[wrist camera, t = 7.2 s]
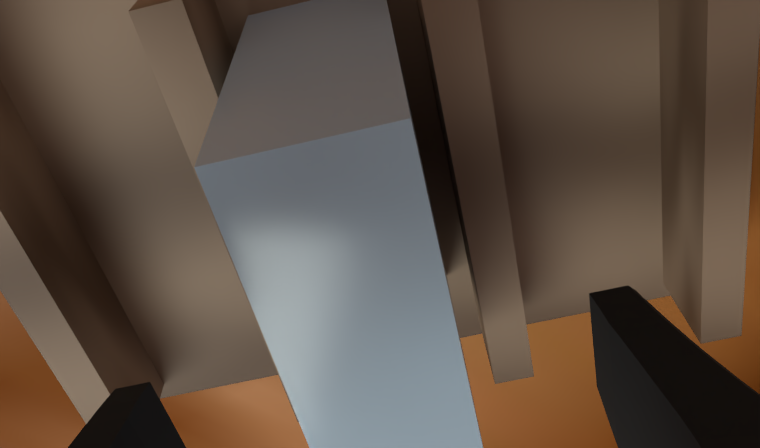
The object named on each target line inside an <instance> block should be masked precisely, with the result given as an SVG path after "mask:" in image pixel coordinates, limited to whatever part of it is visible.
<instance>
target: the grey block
mask: <svg viewBox="0 0 760 448" xmlns="http://www.w3.org/2000/svg"><path fill="white" fill-rule="evenodd" d="M194 168H195V171H196V173H197V176H198V178H199V181H200V183H201V185H202V188H203V190H204V193H205V195H206V198H207V200H208V202H209V205H210V207H211V210H212V212H213V215H214V217H215V219H216V222H217V224H218V227H219V229H220V232H221V234H222V236H223V239H224V241H225V244H226V246H227V249H228V251H229V253H230V256H231V258H232V261H233V263H234V266H235V268H236V270H237V273H238V275H239V278H240V280H241V283H242V285H243V287H244V290H245V292H246V295H247V297H248V300H249V302H250V304H251V307H252V309H253V312H254V314H255V316H256V319H257V321H258V324H259V326H260V329H261V331H262V333H263V336H264V338H265V341H266V343H267V346H268V348H269V350H270V353H271V355H272V358H273V360H274V363H275V365H276V367H277V370H278V372H279V375H280V377H281V380H282V382H283V384H284V387H285V389H286V392H287V394H288V397H289V399H290V401H291V404H292V406H293V409H294V411H295V414H296V416H297V418H298V421H299V423H300V426H301V428H302V431H303V433H304V435H305V438H306V440H307V443H308V445H309V448H483V444H482V439H481V434H480V430H479V425H478V420H477V416H476V411H475V406H474V401H473V397H472V392H471V387H470V383H469V378H468V373H467V368H466V364H465V359H464V354H463V350H462V345H461V340H460V335H459V331H458V326H457V321H456V317H455V312H454V307H453V303H452V298H451V293H450V288H449V284H448V279H447V274H446V270H445V265H444V261H443V256H442V251H441V247H440V242H439V238H438V233H437V228H436V224H435V219H434V215H433V210H432V205H431V201H430V196H429V192H428V187H427V182H426V178H425V173H424V169H423V164H422V159H421V155H420V150H419V146H418V141H417V137H416V132H415V127H414V123H413V118H412V114H411V109H410V104H409V100H408V95H407V91H406V86H405V81H404V77H403V72H402V68H401V63H400V58H399V54H398V49H397V45H396V40H395V35H394V31H393V26H392V22H391V17H390V12H389V8H388V3H387V0H310V1H306V2H302V3H298V4H294V5H290V6H286V7H281V8H277V9H273V10H269V11H265V12H261V13H257V14H253V15H248V17H247V20H246V22H245V25H244V28H243V31H242V34H241V36H240V39H239V42H238V45H237V48H236V51H235V53H234V56H233V59H232V62H231V65H230V67H229V70H228V73H227V76H226V79H225V82H224V84H223V87H222V90H221V93H220V96H219V98H218V101H217V104H216V107H215V110H214V113H213V115H212V118H211V121H210V124H209V127H208V129H207V132H206V135H205V138H204V141H203V144H202V146H201V149H200V152H199V155H198V158H197V160H196V163H195V166H194Z"/></svg>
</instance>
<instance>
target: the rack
mask: <svg viewBox="0 0 760 448" xmlns="http://www.w3.org/2000/svg"><path fill="white" fill-rule="evenodd" d="M306 1H310V0H0V291H1V292H2V294H3V295H4V297H5V298H6V300H7V301H8V303H9V305H10V306H11V308H12V309H13V311H14V312H15V314H16V315H17V317H18V319H19V320H20V322H21V323H22V325H23V326H24V328H25V329H26V331H27V333H28V334H29V336H30V337H31V339H32V340H33V342H34V343H35V345H36V347H37V348H38V350H39V351H40V353H41V354H42V356H43V357H44V359H45V361H46V362H47V364H48V365H49V367H50V368H51V370H52V371H53V373H54V375H55V376H56V378H57V379H58V381H59V382H60V384H61V385H62V387H63V389H64V390H65V392H66V393H67V395H68V396H69V398H70V399H71V401H72V403H73V404H74V406H75V407H76V409H77V410H78V412H79V413H80V415H81V417H82V418H83V420H84V421H85V423H86V424H87V423H88V421H89V420H90V419H91V418H92V416H93V415H94V414H95V412H96V411H97V410H98V409H99V407H100V406H101V405H102V404H103V403H104V401H105V400H106V399H107V398H108V397H109V395H110V394H111V393H112V392H113V391H114V390H115V389H117V388H122V387H127V386H132V385H137V384H142V383H147V382H150V383H151V384H152V386H153V388H154V390H155V392H156V394H157V395H158V397H159V399H160V398H165V397H170V396H175V395H179V394H184V393H189V392H194V391H199V390H204V389H209V388H214V387H219V386H224V385H229V384H234V383H239V382H244V381H249V380H254V379H259V378H264V377H269V376H274V375H279V372H278V370H277V367H276V365H275V363H274V360H273V358H272V355H271V353H270V350H269V348H268V346H267V343H266V341H265V338H264V336H263V333H262V331H261V329H260V326H259V324H258V321H257V319H256V316H255V314H254V312H253V309H252V307H251V304H250V302H249V300H248V297H247V295H246V292H245V290H244V287H243V285H242V283H241V280H240V278H239V275H238V273H237V270H236V268H235V266H234V263H233V261H232V258H231V256H230V253H229V251H228V249H227V246H226V244H225V241H224V239H223V236H222V234H221V232H220V229H219V227H218V224H217V222H216V219H215V217H214V215H213V212H212V210H211V207H210V205H209V202H208V200H207V198H206V195H205V193H204V190H203V188H202V185H201V183H200V181H199V178H198V176H197V173H196V171H195V168H194V166H195V163H196V160H197V158H198V155H199V152H200V149H201V146H202V144H203V141H204V138H205V135H206V132H207V129H208V127H209V124H210V121H211V118H212V115H213V113H214V110H215V107H216V104H217V101H218V98H219V96H220V93H221V90H222V87H223V84H224V82H225V79H226V76H227V73H228V70H229V67H230V65H231V62H232V59H233V56H234V53H235V51H236V48H237V45H238V42H239V39H240V36H241V34H242V31H243V28H244V25H245V22H246V20H247V17H248V15H253V14H257V13H261V12H265V11H269V10H273V9H277V8H281V7H286V6H290V5H294V4H298V3H302V2H306ZM387 3H388V8H389V12H390V17H391V22H392V26H393V31H394V35H395V40H396V45H397V49H398V54H399V58H400V63H401V68H402V72H403V77H404V81H405V86H406V91H407V95H408V100H409V104H410V109H411V114H412V118H413V123H414V127H415V132H416V137H417V141H418V146H419V150H420V155H421V159H422V164H423V169H424V173H425V178H426V182H427V187H428V192H429V196H430V201H431V205H432V210H433V215H434V219H435V224H436V228H437V233H438V238H439V242H440V247H441V251H442V256H443V261H444V265H445V270H446V274H447V279H448V284H449V288H450V293H451V298H452V303H453V307H454V312H455V317H456V321H457V326H458V331H459V335H460V338H462V337H467V336H472V335H477V334H483V338H484V342H485V346H486V350H487V354H488V358H489V362H490V366H491V370H492V374H493V377H494V381H495V384H497V383H502V382H507V381H512V380H517V379H523V378H528V377H533V376H534V373H533V366H532V360H531V353H530V346H529V340H528V333H527V326H526V324H531V323H536V322H541V321H546V320H551V319H556V318H561V317H566V316H571V315H576V314H581V313H586V312H591V311H590V300H589V293H593V292H598V291H603V290H607V289H612V288H617V287H622V286H627V285H628V286H630V287H632V288H633V289H635V290H636V291H637V292H638V293H639V294H640V295H641V296H642V297H643V298H644V299H646V300H650V299H655V298H660V297H665V296H670V295H671V297H672V298H673V300H674V301H675V303H676V305H677V306H678V308H679V309H680V311H681V313H682V314H683V316H684V317H685V319H686V321H687V322H688V324H689V325H690V327H691V329H692V330H693V332H694V333H695V335H696V337H697V338H698V340H699V341H700V343H706V342H711V341H716V340H721V339H726V338H732V337H737V336H741V334H742V317H743V301H744V284H745V268H746V252H747V235H748V219H749V202H750V186H751V170H752V153H753V137H754V120H755V104H756V88H757V71H758V55H759V38H760V0H387ZM279 377H280V375H279ZM280 380H281V377H280ZM281 382H282V380H281ZM282 385H283V387H284V384H283V382H282ZM284 390H285V392H286V389H285V387H284ZM286 394H287V392H286ZM287 397H288V394H287ZM288 399H289V397H288ZM289 402H290V404H291V401H290V399H289ZM291 407H292V409H293V406H292V404H291ZM293 411H294V409H293ZM294 414H295V411H294ZM295 416H296V414H295ZM296 419H297V421H298V418H297V416H296ZM298 422H299V421H298Z"/></svg>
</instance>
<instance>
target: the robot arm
mask: <svg viewBox="0 0 760 448" xmlns="http://www.w3.org/2000/svg"><path fill="white" fill-rule="evenodd" d="M589 300H590V311H591V323H592V334H593V346H594V357H595V368H596V380H597V387H598V390H599V393H600V396H601V399H602V402H603V405H604V408H605V411H606V414H607V417H608V420H609V423H610V426H611V428H612V431H613V434H614V437H615V440H616V443H617V445H618V447H619V448H760V394H758V393H757V392H756V391H754V390H753V389H752V388H750V387H749V386H748V385H746V384H745V383H744V382H743V381H741V380H740V379H739V378H737V377H736V376H735V375H733V374H732V373H731V372H730V371H728V370H727V369H726V368H725V367H723V366H722V365H721V364H720V363H718V362H717V361H716V360H715V359H713V358H712V357H711V356H710V355H708V354H707V353H706V352H705V351H703V350H702V349H701V348H700V347H699V346H697V345H696V344H695V343H694V342H693V341H691V340H690V339H689V338H688V337H687V336H686V335H684V334H683V333H682V332H681V331H680V330H679V329H678V328H676V327H675V326H674V325H673V324H672V323H671V322H670V321H668V320H667V319H666V318H665V317H664V316H663V315H662V314H661V313H660V312H658V311H657V310H656V309H655V308H654V307H653V306H652V305H651V304H650V303H649V302H648V301H647V300H646V299H644V298H643V297H642V296H641V295H640V294H639V293H638V292H637V291H636V290H635V289H633V288H632V287H630V286H628V285H627V286H622V287H617V288H612V289H607V290H603V291H598V292H593V293H589ZM68 448H186V447H185V445H184V443H183V441H182V440H181V438H180V436H179V434H178V432H177V430H176V429H175V427H174V425H173V423H172V421H171V419H170V417H169V416H168V414H167V412H166V410H165V408H164V406H163V405H162V403H161V401H160V399H159V397H158V395H157V394H156V392H155V390H154V388H153V386H152V384H151V383H150V382H147V383H142V384H137V385H132V386H127V387H122V388H117V389H115V390H114V391H113V392H112V393H111V394H110V395H109V397H108V398H107V399H106V400H105V401H104V403H103V404H102V405H101V406H100V407H99V409H98V410H97V411H96V412H95V414H94V415H93V416H92V418H91V419H90V420H89V421H88V423H87V424H86V425H85V426H84V428H83V429H82V430H81V432H80V433H79V434H78V435H77V437H76V438H75V439H74V441H73V442H72V443H71V444H70V446H69V447H68Z"/></svg>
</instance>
